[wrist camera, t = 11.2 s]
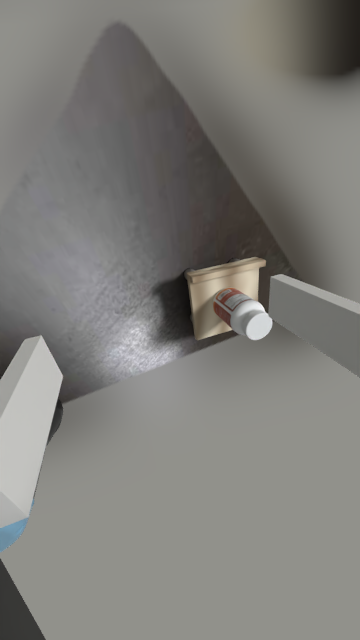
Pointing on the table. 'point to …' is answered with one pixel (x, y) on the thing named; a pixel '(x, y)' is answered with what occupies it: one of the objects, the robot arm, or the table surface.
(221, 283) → the beige small table
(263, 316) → the pill bottle
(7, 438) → the robot arm
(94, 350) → the table surface
